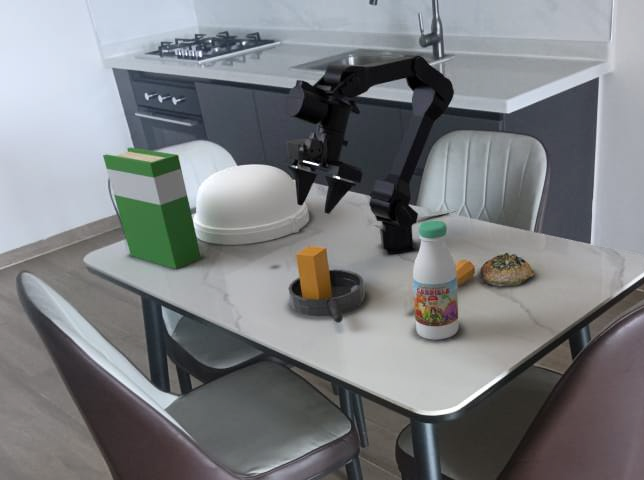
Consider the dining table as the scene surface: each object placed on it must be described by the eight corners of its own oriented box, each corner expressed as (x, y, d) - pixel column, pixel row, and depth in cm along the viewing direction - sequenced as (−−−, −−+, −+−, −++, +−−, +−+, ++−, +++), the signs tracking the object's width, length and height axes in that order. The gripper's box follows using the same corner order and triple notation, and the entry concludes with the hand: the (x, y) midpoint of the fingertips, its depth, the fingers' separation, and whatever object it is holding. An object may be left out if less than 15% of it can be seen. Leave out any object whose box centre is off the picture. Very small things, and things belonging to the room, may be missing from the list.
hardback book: (130, 255, 179) (102, 155, 166) (155, 245, 183) (130, 147, 171) (176, 268, 169) (150, 163, 156) (201, 258, 174) (178, 154, 161)
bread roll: (489, 262, 158) (492, 240, 155) (539, 274, 154) (543, 252, 151) (470, 284, 150) (473, 262, 147) (522, 298, 146) (526, 275, 143)
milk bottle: (413, 323, 136) (407, 219, 126) (455, 319, 137) (451, 214, 126) (418, 342, 130) (412, 234, 119) (461, 338, 130) (459, 229, 120)
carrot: (465, 278, 154) (456, 258, 152) (481, 274, 151) (473, 254, 149) (408, 324, 142) (398, 303, 141) (425, 321, 139) (415, 300, 137)
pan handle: (327, 305, 141) (326, 298, 140) (336, 304, 141) (335, 296, 140) (335, 324, 134) (334, 316, 133) (343, 323, 134) (342, 315, 133)
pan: (357, 282, 155) (355, 265, 153) (371, 310, 142) (369, 293, 140) (287, 293, 152) (285, 276, 150) (295, 323, 140) (293, 305, 138)
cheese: (316, 300, 147) (308, 245, 141) (333, 303, 146) (326, 247, 139) (304, 309, 144) (295, 253, 138) (321, 312, 142) (313, 256, 136)
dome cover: (167, 233, 190) (154, 179, 183) (248, 199, 211) (239, 149, 203) (256, 252, 174) (246, 193, 167) (335, 213, 194) (329, 159, 187)
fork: (460, 211, 188) (459, 204, 187) (379, 235, 178) (379, 227, 177) (452, 208, 191) (452, 202, 190) (373, 231, 180) (372, 224, 180)
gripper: (272, 114, 147) (255, 193, 150) (329, 125, 134) (309, 210, 138) (315, 129, 154) (298, 203, 158) (373, 140, 142) (353, 220, 146)
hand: (313, 209), depth 150 cm, fingers open, 9 cm apart
